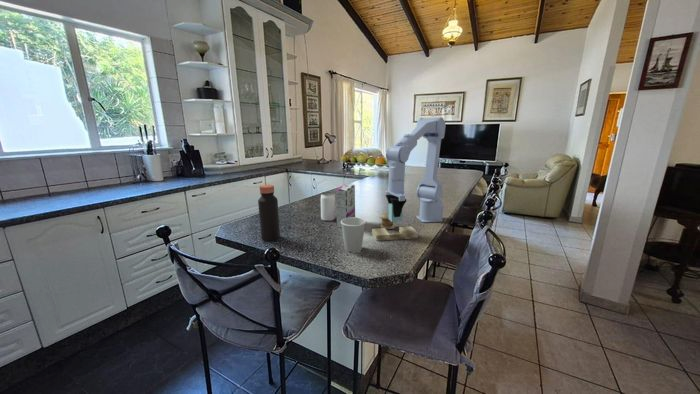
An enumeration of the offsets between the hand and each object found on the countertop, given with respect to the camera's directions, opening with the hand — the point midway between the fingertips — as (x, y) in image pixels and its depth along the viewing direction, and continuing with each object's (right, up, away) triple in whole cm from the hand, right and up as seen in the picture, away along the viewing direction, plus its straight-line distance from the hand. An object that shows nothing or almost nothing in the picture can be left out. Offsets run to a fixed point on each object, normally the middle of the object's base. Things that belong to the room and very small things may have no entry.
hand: (395, 214), depth 103 cm
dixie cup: (-16, -11, -9) cm, 22 cm away
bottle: (-47, -9, 0) cm, 48 cm away
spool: (-1, -6, +11) cm, 12 cm away
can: (-27, -3, +21) cm, 34 cm away
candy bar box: (-19, -5, +15) cm, 24 cm away
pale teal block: (0, -2, +1) cm, 2 cm away
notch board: (0, -8, +2) cm, 8 cm away
